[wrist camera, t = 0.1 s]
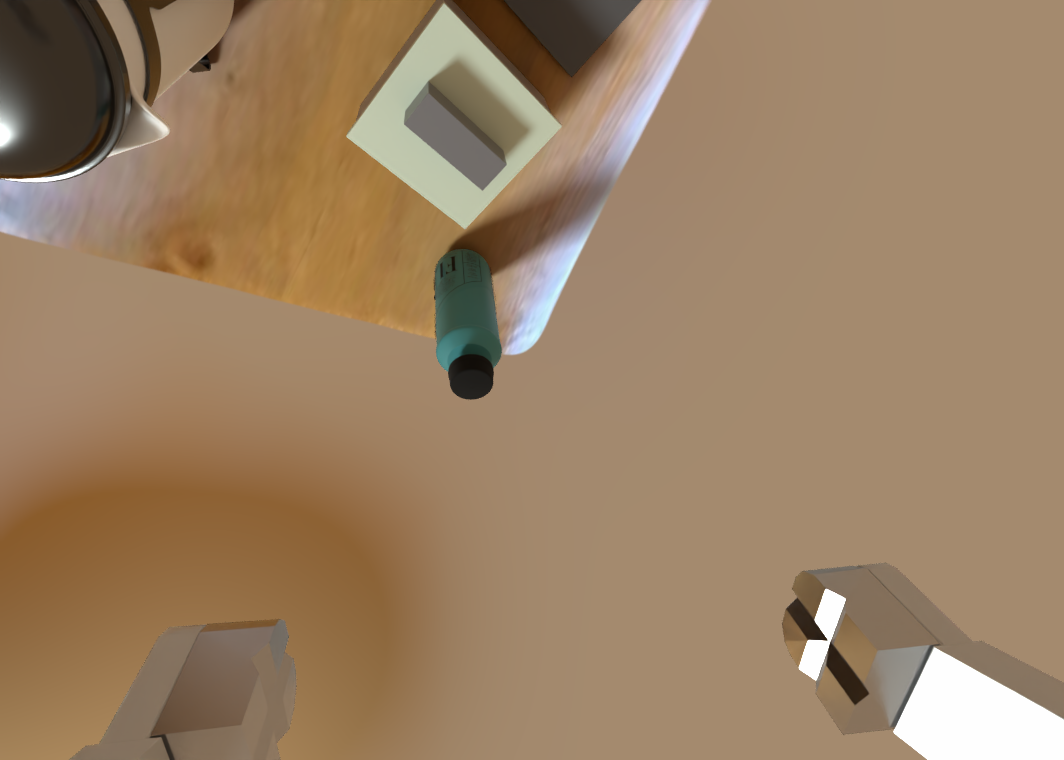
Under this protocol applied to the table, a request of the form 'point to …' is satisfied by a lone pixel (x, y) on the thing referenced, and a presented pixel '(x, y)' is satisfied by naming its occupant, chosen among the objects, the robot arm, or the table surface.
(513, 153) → the lid
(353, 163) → the table surface
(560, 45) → the rubber mat
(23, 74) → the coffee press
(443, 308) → the beverage bottle
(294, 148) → the table surface
